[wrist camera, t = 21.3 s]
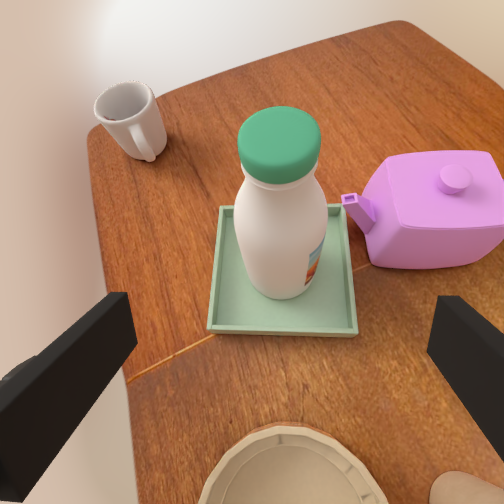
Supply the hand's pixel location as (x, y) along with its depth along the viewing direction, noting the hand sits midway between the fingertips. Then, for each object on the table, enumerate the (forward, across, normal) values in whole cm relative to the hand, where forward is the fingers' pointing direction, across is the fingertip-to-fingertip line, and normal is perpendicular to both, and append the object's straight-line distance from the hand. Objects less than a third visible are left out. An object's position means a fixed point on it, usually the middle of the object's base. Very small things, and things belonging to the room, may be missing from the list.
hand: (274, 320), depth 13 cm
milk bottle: (+20, 0, -6) cm, 21 cm away
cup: (+34, -20, +7) cm, 40 cm away
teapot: (+24, +15, -3) cm, 29 cm away
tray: (+21, 0, -7) cm, 22 cm away
